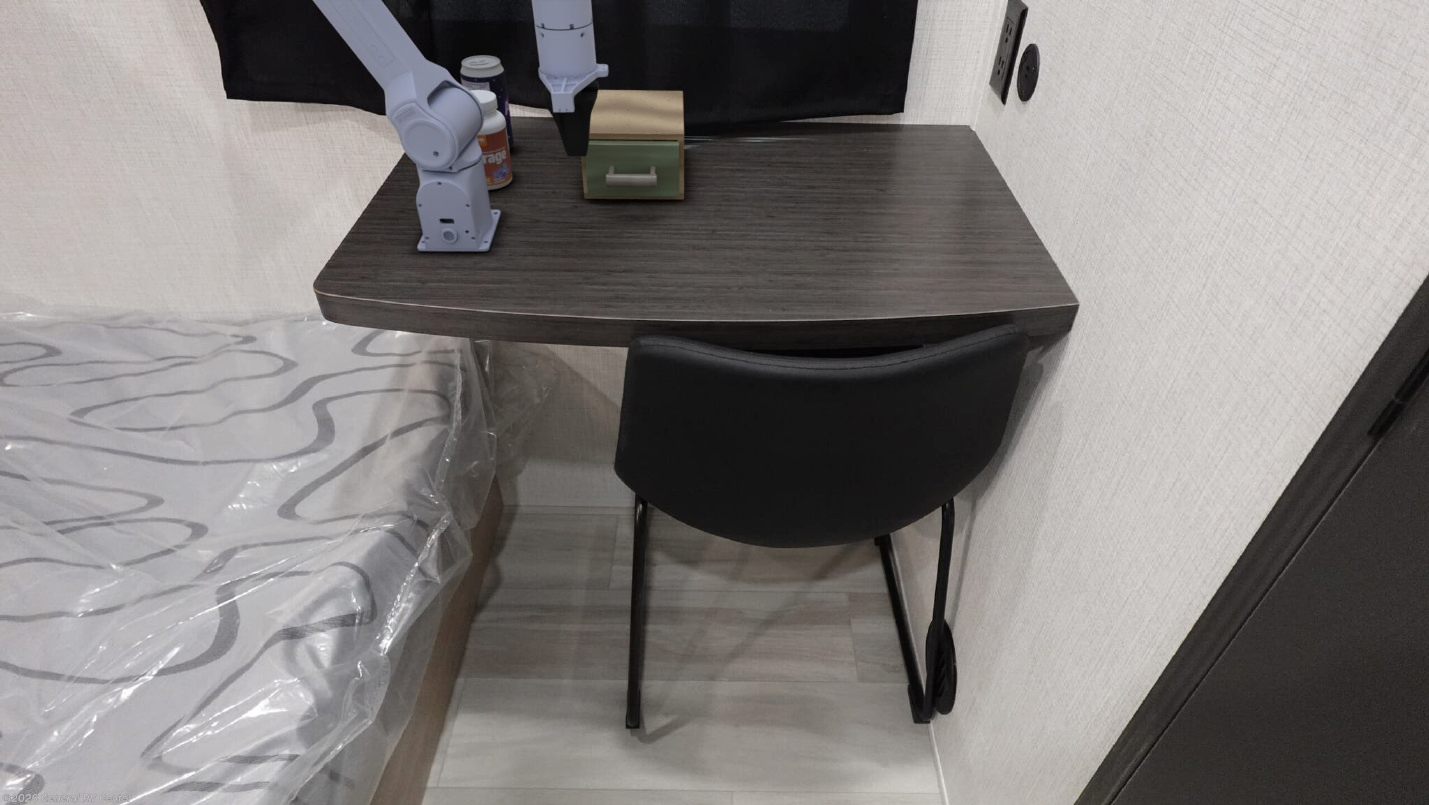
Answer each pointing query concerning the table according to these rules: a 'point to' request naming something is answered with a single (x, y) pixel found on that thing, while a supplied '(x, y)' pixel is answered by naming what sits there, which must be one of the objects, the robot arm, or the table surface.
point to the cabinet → (638, 123)
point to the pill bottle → (494, 142)
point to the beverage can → (488, 83)
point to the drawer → (632, 168)
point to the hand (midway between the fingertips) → (577, 153)
